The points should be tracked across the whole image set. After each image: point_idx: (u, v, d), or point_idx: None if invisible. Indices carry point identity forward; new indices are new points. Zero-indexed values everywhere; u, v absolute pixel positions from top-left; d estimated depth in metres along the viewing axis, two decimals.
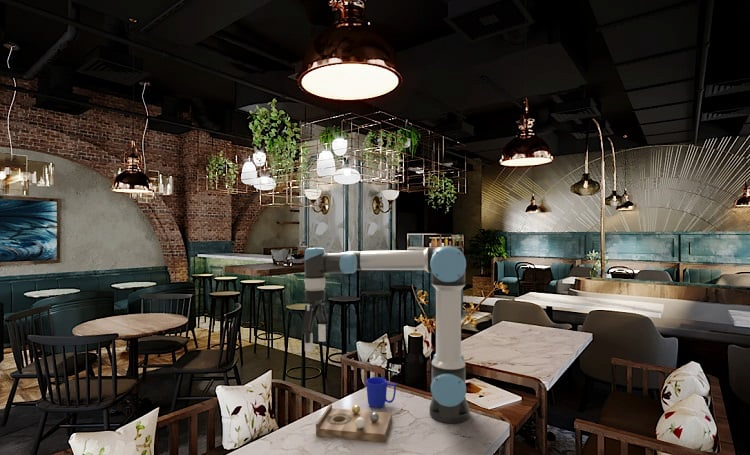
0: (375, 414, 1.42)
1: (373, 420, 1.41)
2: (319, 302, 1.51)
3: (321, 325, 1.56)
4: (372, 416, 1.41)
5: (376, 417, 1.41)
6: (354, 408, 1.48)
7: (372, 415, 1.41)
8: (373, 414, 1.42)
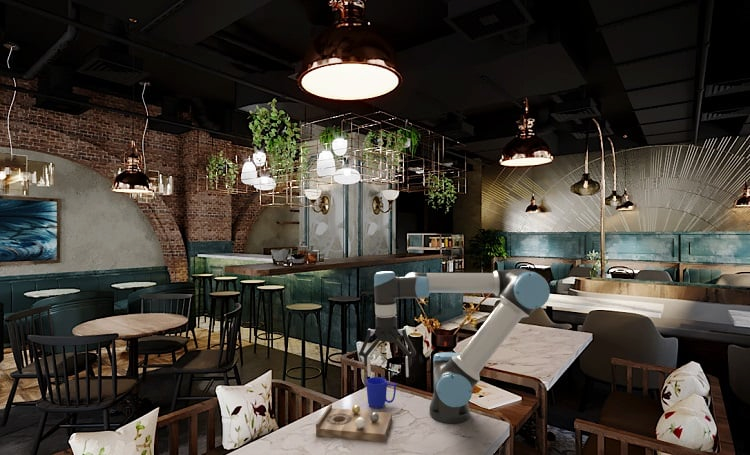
0: (375, 414, 1.42)
1: (373, 420, 1.41)
2: (390, 330, 1.41)
3: (406, 357, 1.41)
4: (372, 416, 1.41)
5: (376, 417, 1.41)
6: (354, 408, 1.48)
7: (372, 415, 1.41)
8: (373, 414, 1.42)
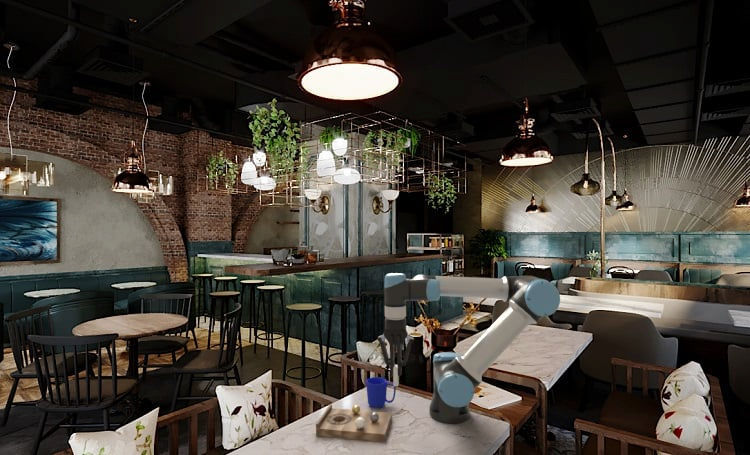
0: (375, 414, 1.42)
1: (373, 420, 1.41)
2: (401, 331, 1.40)
3: None
4: (372, 416, 1.41)
5: (376, 417, 1.41)
6: (354, 408, 1.48)
7: (372, 415, 1.41)
8: (373, 414, 1.42)
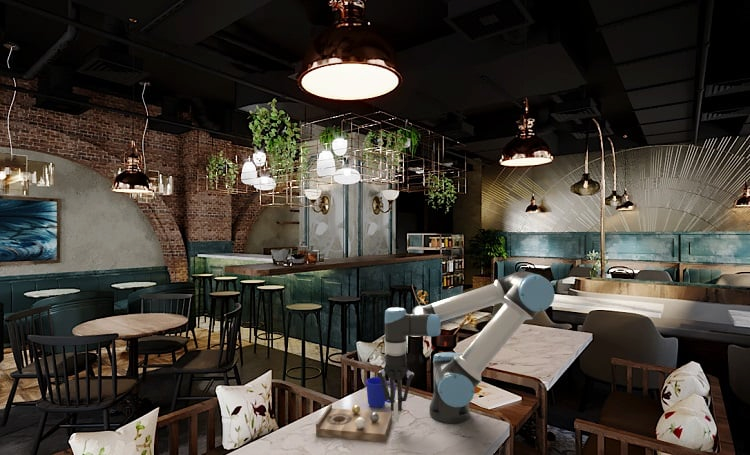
0: (375, 414, 1.42)
1: (373, 420, 1.41)
2: (401, 366, 1.39)
3: None
4: (372, 416, 1.41)
5: (376, 417, 1.41)
6: (354, 408, 1.48)
7: (372, 415, 1.41)
8: (373, 414, 1.42)
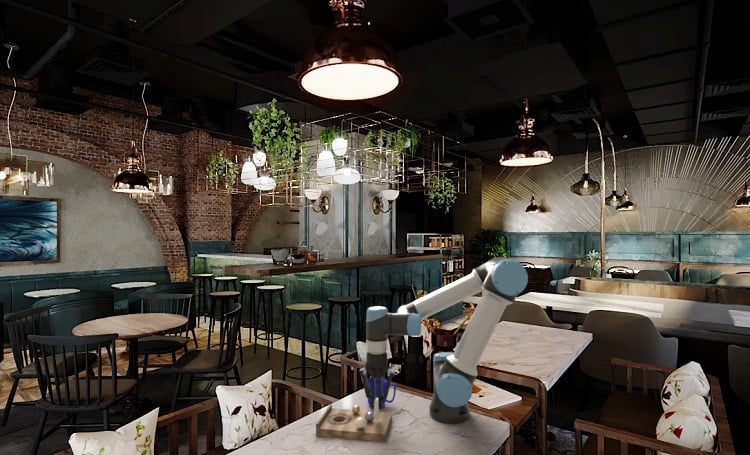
0: (366, 414, 1.42)
1: (369, 419, 1.41)
2: (382, 364, 1.41)
3: None
4: (366, 418, 1.42)
5: (369, 415, 1.41)
6: (354, 408, 1.48)
7: (365, 417, 1.42)
8: (365, 416, 1.42)
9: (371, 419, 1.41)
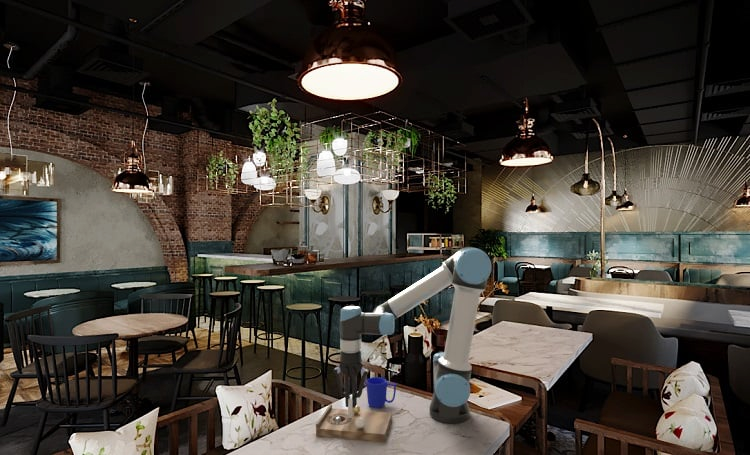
0: None
1: None
2: (356, 363, 1.43)
3: None
4: None
5: None
6: (354, 408, 1.48)
7: None
8: None
9: (337, 420, 1.44)
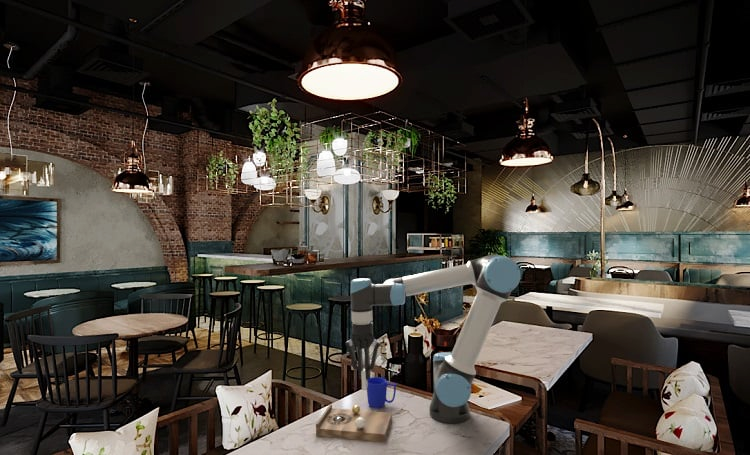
0: None
1: None
2: (368, 335, 1.42)
3: None
4: None
5: None
6: (354, 408, 1.48)
7: None
8: None
9: (338, 420, 1.43)
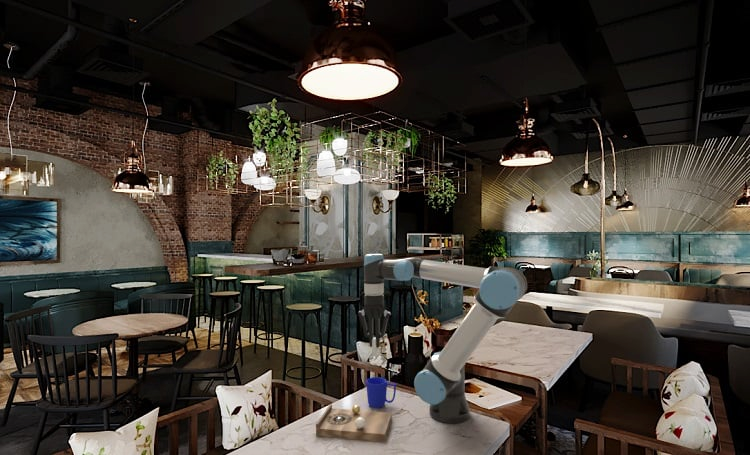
0: None
1: None
2: (379, 306, 1.53)
3: None
4: None
5: (335, 421, 1.44)
6: (354, 408, 1.48)
7: None
8: None
9: (339, 421, 1.43)
